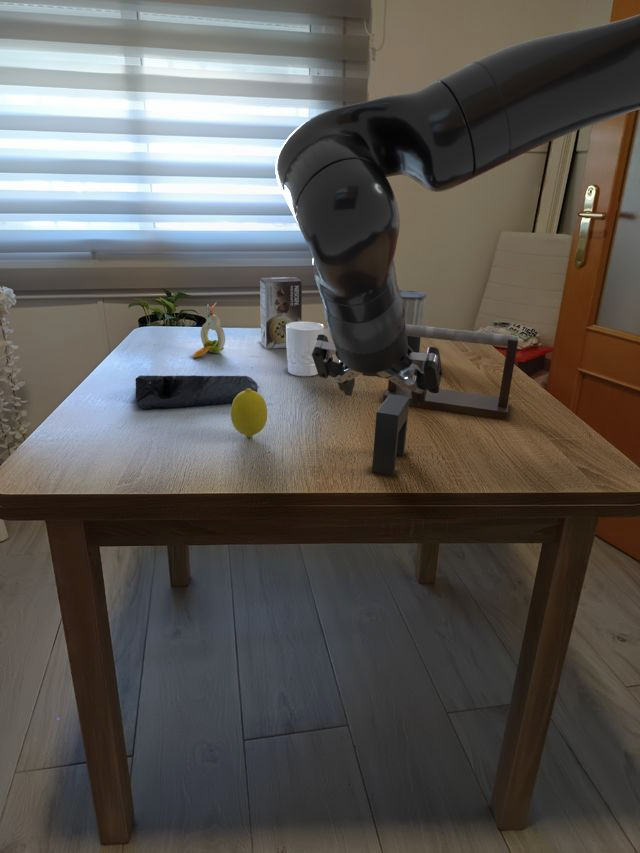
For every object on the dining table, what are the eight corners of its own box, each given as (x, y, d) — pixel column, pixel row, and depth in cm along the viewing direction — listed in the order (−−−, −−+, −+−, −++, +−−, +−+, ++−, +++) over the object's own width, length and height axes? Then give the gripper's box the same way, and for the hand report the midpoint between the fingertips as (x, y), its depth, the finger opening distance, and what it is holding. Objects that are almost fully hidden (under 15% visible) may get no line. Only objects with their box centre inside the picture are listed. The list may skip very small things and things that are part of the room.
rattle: (181, 352, 133) (178, 302, 129) (213, 347, 138) (211, 299, 134) (195, 359, 128) (193, 308, 123) (228, 354, 132) (227, 305, 128)
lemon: (264, 429, 92) (264, 382, 89) (269, 443, 87) (269, 394, 84) (230, 431, 91) (228, 383, 88) (232, 445, 86) (231, 395, 83)
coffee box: (294, 341, 147) (296, 276, 140) (301, 347, 141) (303, 280, 135) (259, 342, 144) (259, 276, 138) (265, 349, 138) (265, 280, 132)
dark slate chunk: (260, 408, 101) (260, 383, 99) (130, 411, 97) (128, 385, 96) (255, 381, 115) (255, 358, 113) (142, 383, 111) (140, 359, 110)
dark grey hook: (371, 472, 79) (376, 412, 76) (384, 450, 86) (389, 393, 83) (392, 476, 79) (398, 415, 75) (404, 453, 86) (410, 396, 82)
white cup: (288, 378, 118) (288, 330, 114) (282, 367, 125) (283, 321, 121) (325, 376, 119) (327, 329, 115) (318, 366, 126) (319, 321, 123)
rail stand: (508, 405, 107) (520, 331, 101) (506, 420, 100) (519, 341, 94) (392, 389, 113) (398, 319, 108) (382, 402, 106) (388, 327, 101)
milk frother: (426, 355, 138) (433, 292, 132) (400, 370, 125) (406, 302, 120) (373, 346, 145) (377, 286, 139) (343, 359, 132) (346, 294, 126)
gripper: (288, 343, 57) (321, 412, 72) (431, 360, 53) (435, 430, 68) (308, 282, 60) (336, 360, 74) (445, 294, 56) (446, 374, 70)
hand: (383, 393), depth 71 cm, fingers open, 8 cm apart
